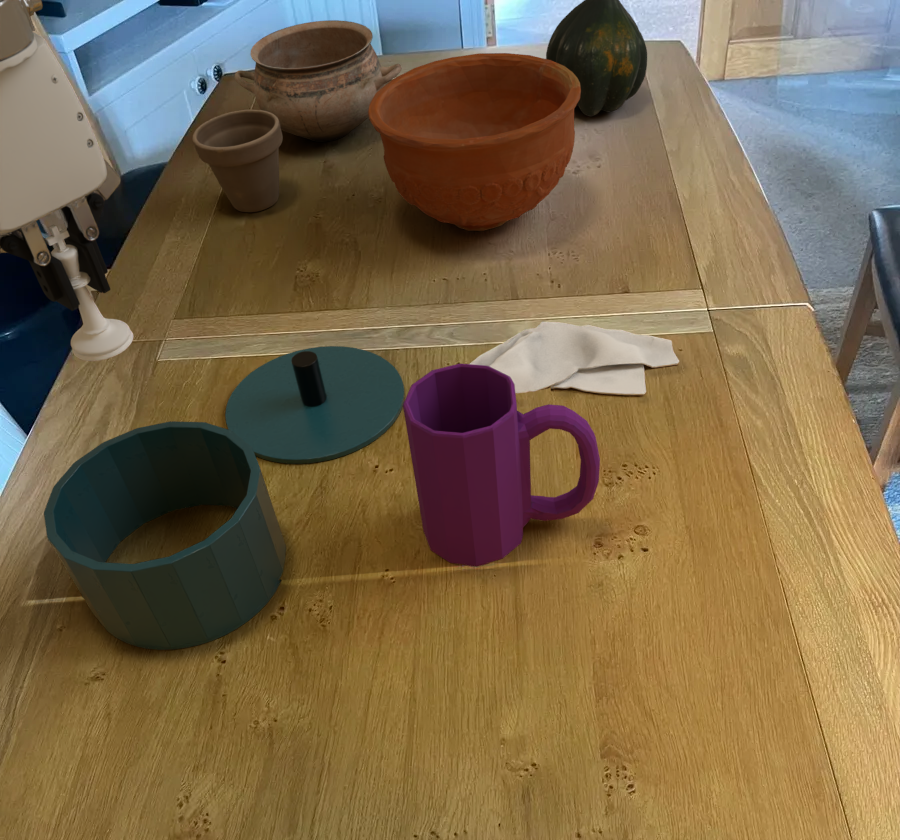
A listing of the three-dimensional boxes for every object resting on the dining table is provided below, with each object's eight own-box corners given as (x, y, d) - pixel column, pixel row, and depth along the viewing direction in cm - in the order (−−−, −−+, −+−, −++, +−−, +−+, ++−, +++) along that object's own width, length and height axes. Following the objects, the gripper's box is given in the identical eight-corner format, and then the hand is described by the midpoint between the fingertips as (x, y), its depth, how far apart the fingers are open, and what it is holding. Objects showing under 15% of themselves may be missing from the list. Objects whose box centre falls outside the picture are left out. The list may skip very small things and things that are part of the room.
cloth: (669, 318, 102) (671, 299, 100) (686, 396, 93) (688, 377, 92) (433, 333, 105) (430, 315, 103) (427, 411, 96) (424, 393, 94)
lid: (216, 476, 92) (197, 427, 88) (239, 363, 104) (224, 314, 100) (404, 460, 91) (395, 409, 86) (406, 347, 103) (398, 297, 99)
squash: (541, 95, 130) (613, -10, 122) (515, 61, 140) (580, -38, 132) (613, 151, 137) (685, 55, 129) (583, 115, 147) (648, 24, 140)
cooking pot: (420, 102, 145) (410, 14, 136) (396, 159, 133) (383, 66, 124) (267, 107, 150) (247, 22, 140) (231, 163, 138) (207, 74, 128)
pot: (70, 658, 79) (18, 580, 71) (115, 510, 90) (74, 429, 83) (276, 643, 78) (245, 561, 70) (294, 495, 89) (269, 412, 82)
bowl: (607, 240, 114) (612, 112, 102) (408, 284, 112) (390, 158, 100) (545, 155, 130) (543, 36, 118) (369, 192, 128) (350, 75, 116)
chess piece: (145, 338, 76) (99, 221, 68) (94, 368, 74) (40, 251, 66) (111, 319, 78) (63, 203, 71) (61, 347, 76) (5, 231, 68)
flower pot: (203, 224, 126) (179, 149, 119) (226, 183, 133) (205, 110, 126) (285, 221, 124) (267, 145, 117) (303, 180, 132) (287, 106, 124)
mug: (423, 501, 87) (402, 367, 76) (591, 487, 86) (594, 349, 75) (424, 574, 81) (402, 441, 70) (604, 559, 80) (610, 422, 69)
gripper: (46, -16, 64) (138, 237, 78) (-179, 66, 57) (-34, 328, 71) (107, 1, 60) (192, 264, 74) (-126, 92, 53) (17, 362, 67)
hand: (81, 293), depth 72 cm, fingers closed on chess piece
